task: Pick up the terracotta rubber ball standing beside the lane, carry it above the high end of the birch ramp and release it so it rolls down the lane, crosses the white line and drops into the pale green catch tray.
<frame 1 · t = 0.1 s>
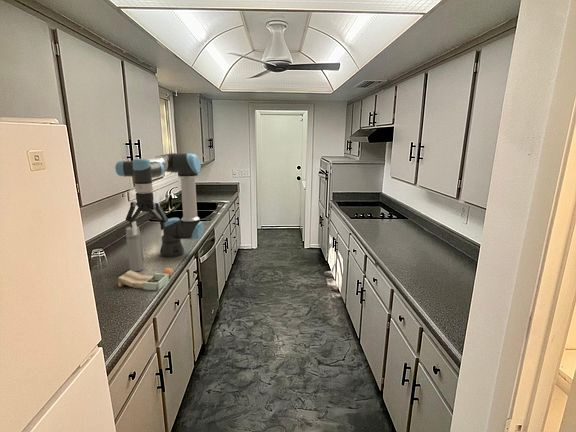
hand: (148, 235, 157), 28 cm above the worktop, fingers open, 13 cm apart
catch tray: (156, 284, 168), on the worktop
water bottle: (138, 269, 186), on the worktop
ball: (167, 276, 177), on the worktop
ramp lane: (144, 283, 168), on the worktop
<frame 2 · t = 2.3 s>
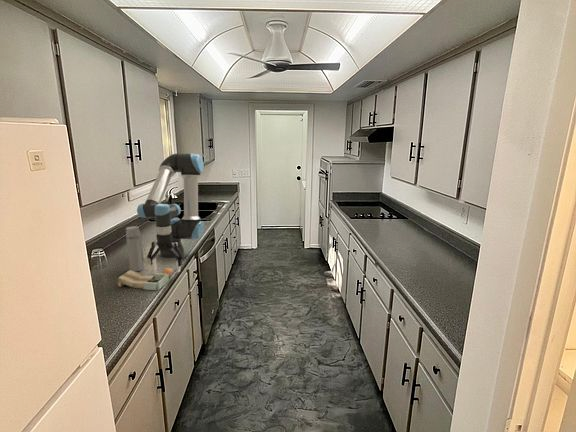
hand: (166, 271, 176), 3 cm above the worktop, fingers open, 13 cm apart
nothing on the worktop moved.
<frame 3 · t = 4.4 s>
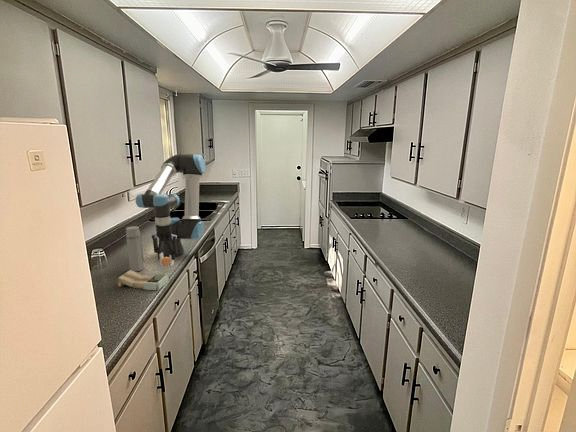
hand: (167, 264, 176), 7 cm above the worktop, fingers closed on ball, 5 cm apart
ball: (167, 265, 176), point 6 cm above the worktop, touching gripper
everything else where it was.
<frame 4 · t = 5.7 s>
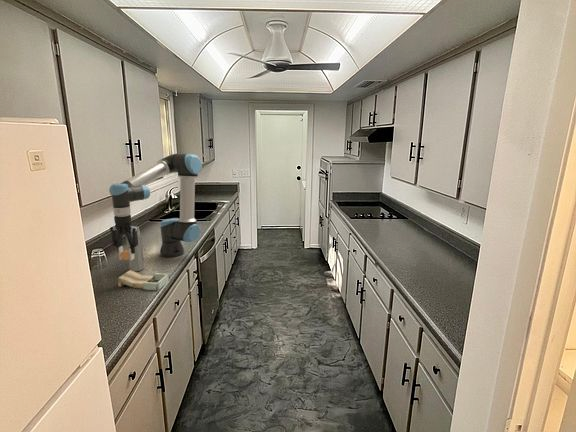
hand: (127, 259, 166), 13 cm above the worktop, fingers closed on ball, 5 cm apart
ball: (126, 259, 166), point 13 cm above the worktop, touching gripper
everything else where it was.
when the fingers open (5 cm above the worktop, at t = 7.0 s): ball moves 2 cm and tips over, resting on ramp lane.
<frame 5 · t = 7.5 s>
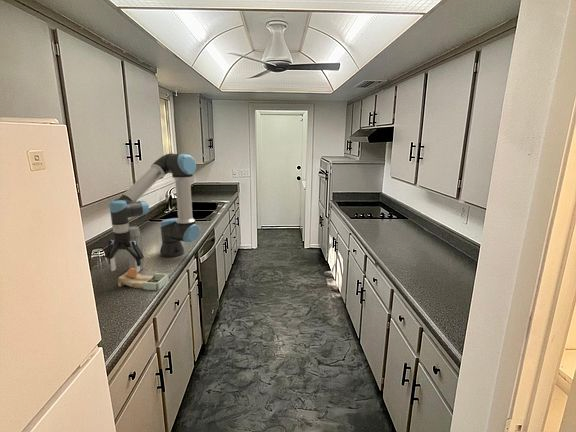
hand: (125, 270, 168), 7 cm above the worktop, fingers open, 13 cm apart
ball: (127, 272, 167), point 6 cm above the worktop, tilted 93°, touching ramp lane
everything else where it was.
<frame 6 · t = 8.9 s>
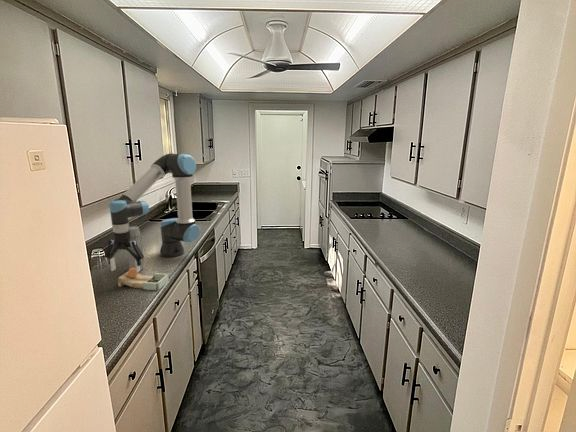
hand: (125, 270, 168), 7 cm above the worktop, fingers open, 13 cm apart
ball: (128, 272, 167), point 6 cm above the worktop, tilted 95°, touching gripper, ramp lane
everything else where it was.
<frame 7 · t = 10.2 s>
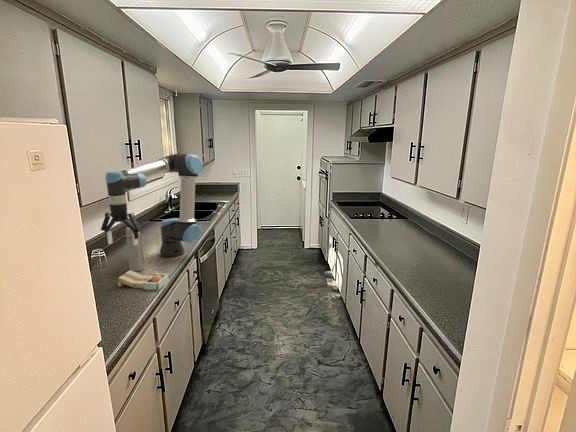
hand: (123, 244, 164), 21 cm above the worktop, fingers open, 13 cm apart
ball: (153, 282, 168), point 1 cm above the worktop, tilted 51°
everything else where it was.
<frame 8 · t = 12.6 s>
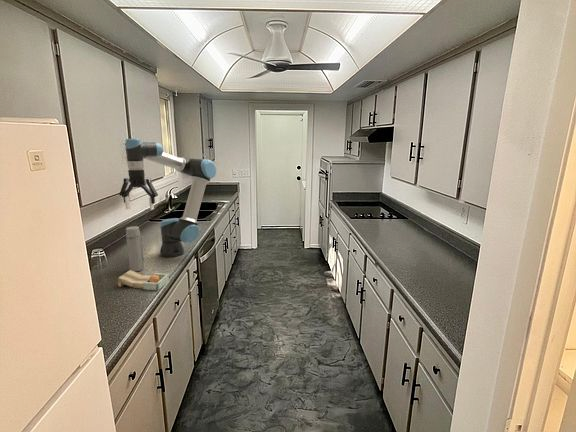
hand: (140, 209, 173), 37 cm above the worktop, fingers open, 13 cm apart
ball: (153, 284, 168), on the worktop, tilted 14°
everything else where it was.
at the end: ball inside the target area on the catch tray (1.7 cm from its centre), point 0.1 cm above the catch tray's base; ball on the worktop; the gripper is holding nothing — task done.
